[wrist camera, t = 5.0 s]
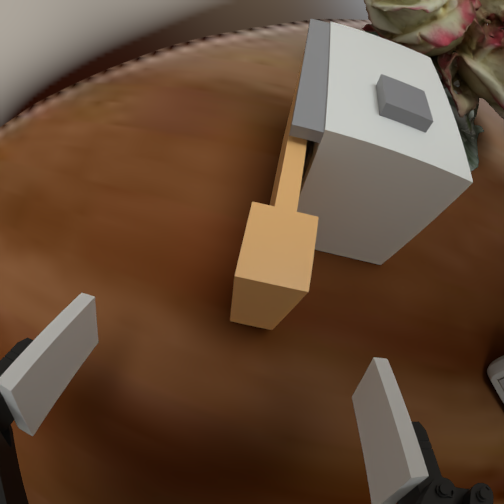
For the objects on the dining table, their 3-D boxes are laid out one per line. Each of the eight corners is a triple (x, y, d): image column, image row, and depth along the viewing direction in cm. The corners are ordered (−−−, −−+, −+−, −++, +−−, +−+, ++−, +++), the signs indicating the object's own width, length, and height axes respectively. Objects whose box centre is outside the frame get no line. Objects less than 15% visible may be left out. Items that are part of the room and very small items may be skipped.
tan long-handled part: (272, 330, 22) (308, 292, 12) (229, 321, 22) (234, 275, 12) (303, 143, 28) (330, 58, 19) (272, 136, 28) (290, 48, 19)
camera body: (380, 265, 26) (482, 172, 13) (262, 237, 26) (296, 106, 13) (378, 141, 32) (431, 44, 19) (287, 116, 32) (314, 3, 19)
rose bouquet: (303, 77, 35) (356, -134, 8) (398, 41, 45) (447, -79, 17) (464, 214, 29) (627, 28, 2) (505, 129, 39) (584, 18, 11)
